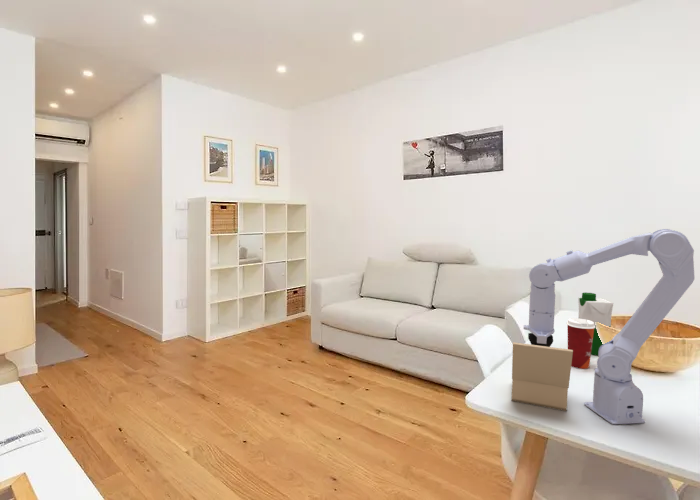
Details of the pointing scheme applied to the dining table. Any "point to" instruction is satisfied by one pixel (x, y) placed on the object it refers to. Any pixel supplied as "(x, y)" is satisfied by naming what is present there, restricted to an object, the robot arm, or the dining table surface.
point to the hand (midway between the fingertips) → (539, 363)
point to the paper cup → (580, 341)
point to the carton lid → (541, 364)
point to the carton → (539, 394)
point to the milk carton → (595, 315)
